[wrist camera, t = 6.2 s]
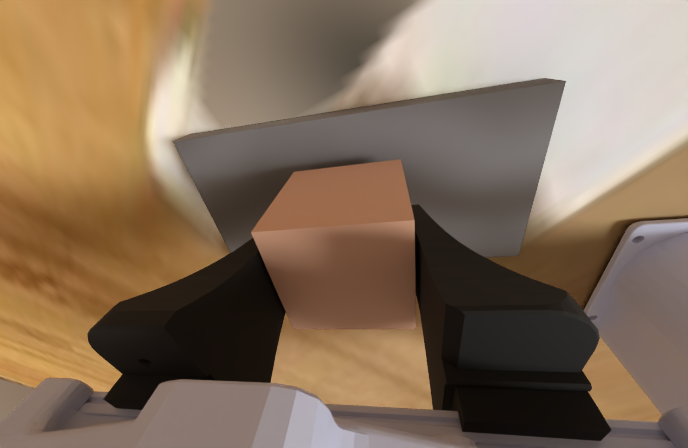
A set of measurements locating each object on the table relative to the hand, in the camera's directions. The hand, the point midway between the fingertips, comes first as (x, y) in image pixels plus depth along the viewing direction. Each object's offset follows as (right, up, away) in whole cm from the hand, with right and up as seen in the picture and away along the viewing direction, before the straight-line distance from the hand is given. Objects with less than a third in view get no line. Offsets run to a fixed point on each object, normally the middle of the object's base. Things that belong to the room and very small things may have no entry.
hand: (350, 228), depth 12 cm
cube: (0, +1, +1) cm, 1 cm away
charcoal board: (0, +2, +3) cm, 4 cm away
